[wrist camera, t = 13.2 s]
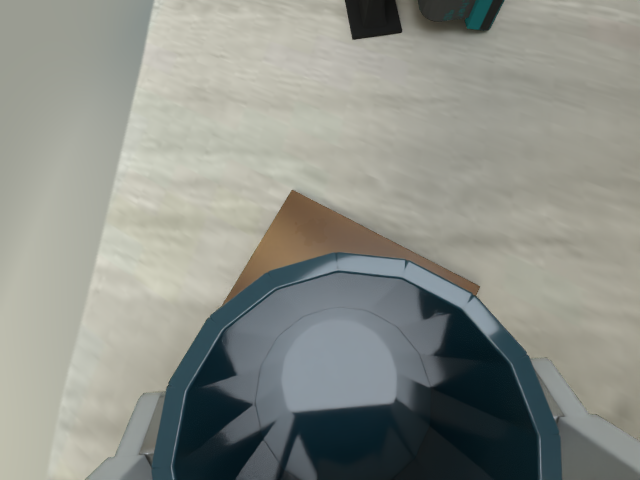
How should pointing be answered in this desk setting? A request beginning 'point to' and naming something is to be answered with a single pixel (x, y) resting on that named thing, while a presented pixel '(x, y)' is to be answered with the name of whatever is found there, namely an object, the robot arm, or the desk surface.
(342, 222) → the brown flat rectangular board
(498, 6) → the surveillance camera
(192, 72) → the desk surface
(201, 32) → the desk surface
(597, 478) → the robot arm
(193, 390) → the cup
